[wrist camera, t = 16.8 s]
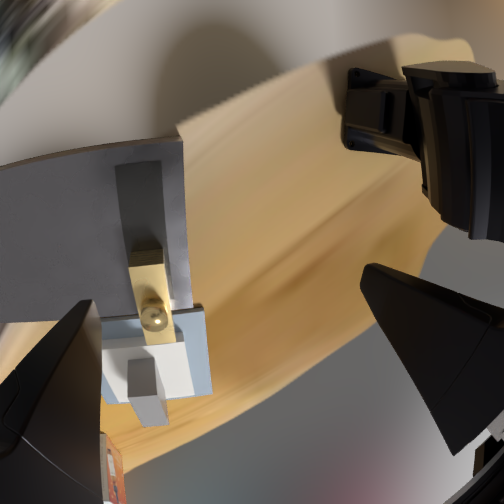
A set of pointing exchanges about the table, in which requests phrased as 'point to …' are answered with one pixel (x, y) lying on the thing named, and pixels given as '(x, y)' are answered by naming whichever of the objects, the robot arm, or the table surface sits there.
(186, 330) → the pad
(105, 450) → the small box
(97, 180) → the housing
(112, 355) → the lid
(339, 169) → the table surface
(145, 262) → the pegged block
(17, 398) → the robot arm
